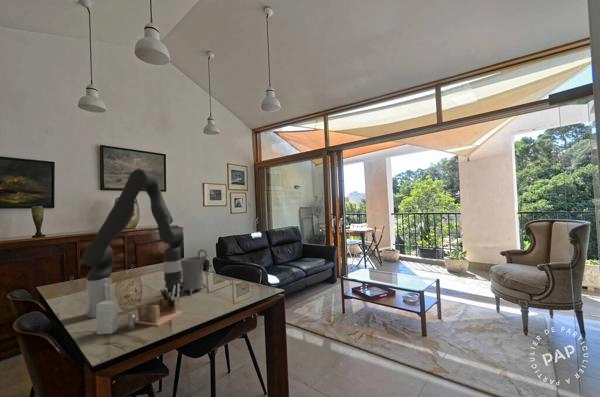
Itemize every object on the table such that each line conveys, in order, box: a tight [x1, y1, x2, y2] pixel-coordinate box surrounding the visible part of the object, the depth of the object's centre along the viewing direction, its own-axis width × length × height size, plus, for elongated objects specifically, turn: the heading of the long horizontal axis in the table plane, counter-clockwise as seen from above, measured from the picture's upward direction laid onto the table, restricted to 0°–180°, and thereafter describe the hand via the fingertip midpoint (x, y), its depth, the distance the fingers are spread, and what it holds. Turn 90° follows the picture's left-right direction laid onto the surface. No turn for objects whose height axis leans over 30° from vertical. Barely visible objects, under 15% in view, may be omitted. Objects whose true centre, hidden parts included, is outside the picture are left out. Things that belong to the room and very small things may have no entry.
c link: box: [137, 296, 180, 321], centre depth 121 cm, size 10×13×6 cm
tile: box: [135, 310, 184, 327], centre depth 121 cm, size 15×14×1 cm
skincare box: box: [96, 300, 119, 335], centre depth 108 cm, size 6×4×12 cm
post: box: [127, 313, 136, 331], centre depth 110 cm, size 2×2×6 cm
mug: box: [181, 249, 208, 296], centre depth 158 cm, size 19×15×25 cm
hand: (173, 306), depth 125 cm, fingers closed
